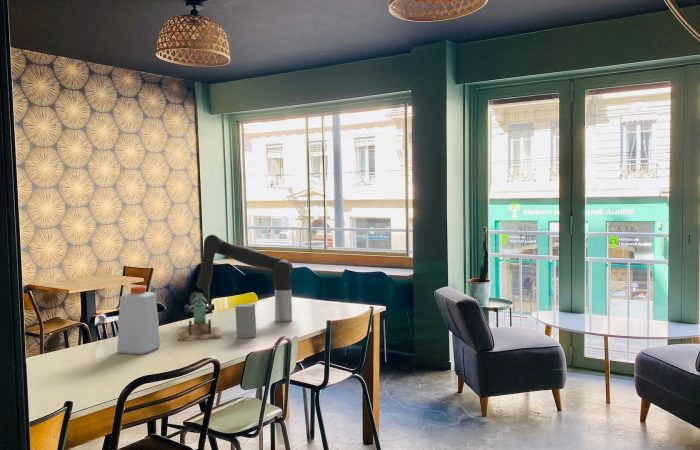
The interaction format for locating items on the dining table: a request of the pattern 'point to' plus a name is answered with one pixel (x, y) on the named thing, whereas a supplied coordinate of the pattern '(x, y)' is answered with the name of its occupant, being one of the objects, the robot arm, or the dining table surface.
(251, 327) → the skincare box
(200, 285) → the robot arm
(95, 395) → the dining table surface
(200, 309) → the bottle
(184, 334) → the u rest
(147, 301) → the plastic bottle
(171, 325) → the dining table surface
